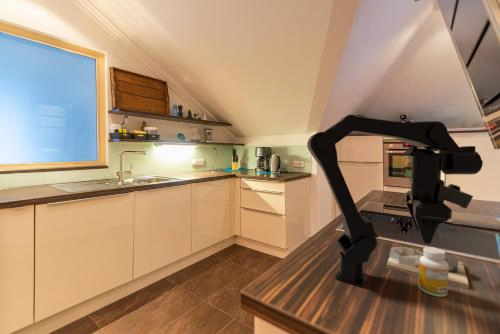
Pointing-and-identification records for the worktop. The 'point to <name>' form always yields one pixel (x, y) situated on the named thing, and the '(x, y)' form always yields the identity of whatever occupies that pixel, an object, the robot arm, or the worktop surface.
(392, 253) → the socket collar
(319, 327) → the worktop surface
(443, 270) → the supplement bottle
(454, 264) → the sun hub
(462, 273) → the carrier plate
